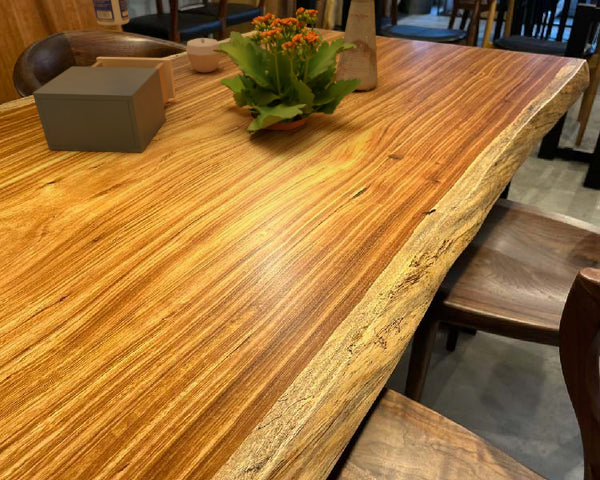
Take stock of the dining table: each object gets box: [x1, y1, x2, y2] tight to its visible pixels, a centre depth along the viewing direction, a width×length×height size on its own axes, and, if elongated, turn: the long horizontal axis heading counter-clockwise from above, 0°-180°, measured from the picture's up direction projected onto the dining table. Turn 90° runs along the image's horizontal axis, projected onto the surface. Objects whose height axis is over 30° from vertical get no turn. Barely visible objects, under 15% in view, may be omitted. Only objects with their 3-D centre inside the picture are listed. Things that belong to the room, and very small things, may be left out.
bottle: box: [335, 0, 379, 91], centre depth 102 cm, size 9×9×28 cm
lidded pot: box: [185, 37, 222, 74], centre depth 117 cm, size 8×8×7 cm
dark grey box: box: [32, 65, 167, 154], centre depth 85 cm, size 15×15×9 cm
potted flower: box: [213, 7, 362, 135], centre depth 89 cm, size 25×24×18 cm
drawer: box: [90, 56, 177, 105], centre depth 96 cm, size 18×13×7 cm
